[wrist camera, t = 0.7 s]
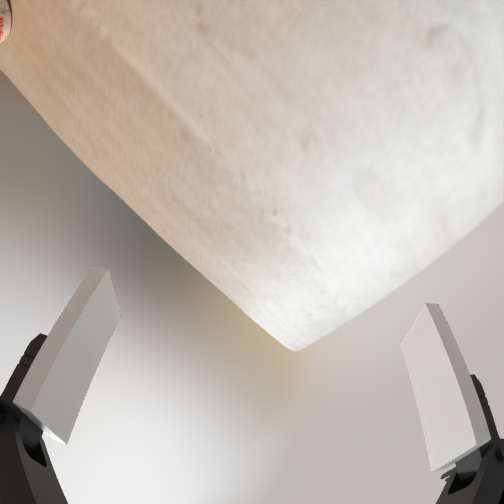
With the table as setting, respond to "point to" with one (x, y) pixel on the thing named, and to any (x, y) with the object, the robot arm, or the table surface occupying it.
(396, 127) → the table surface
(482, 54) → the table surface
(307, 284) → the table surface
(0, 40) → the teacup with lid
